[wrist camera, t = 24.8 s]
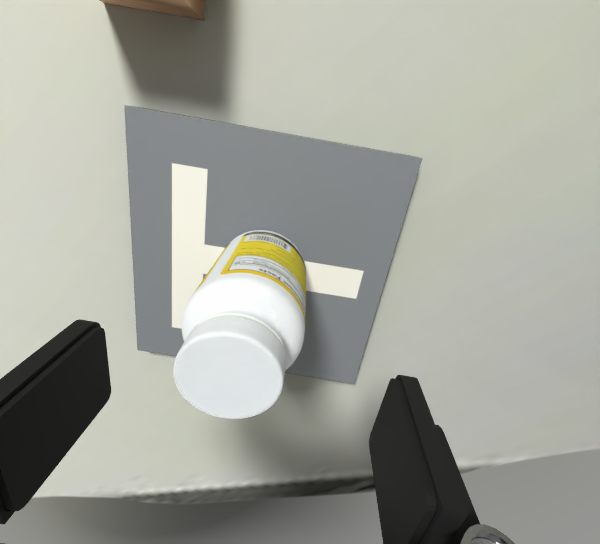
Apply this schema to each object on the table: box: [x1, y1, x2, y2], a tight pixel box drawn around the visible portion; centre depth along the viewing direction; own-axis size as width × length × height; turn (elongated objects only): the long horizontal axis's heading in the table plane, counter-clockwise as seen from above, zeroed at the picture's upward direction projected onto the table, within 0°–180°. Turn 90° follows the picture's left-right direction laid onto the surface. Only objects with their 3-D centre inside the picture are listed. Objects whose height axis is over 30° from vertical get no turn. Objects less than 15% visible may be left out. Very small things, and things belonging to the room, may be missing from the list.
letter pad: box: [125, 105, 422, 384], centre depth 21 cm, size 16×16×1 cm
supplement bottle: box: [173, 230, 306, 419], centre depth 16 cm, size 5×5×10 cm
